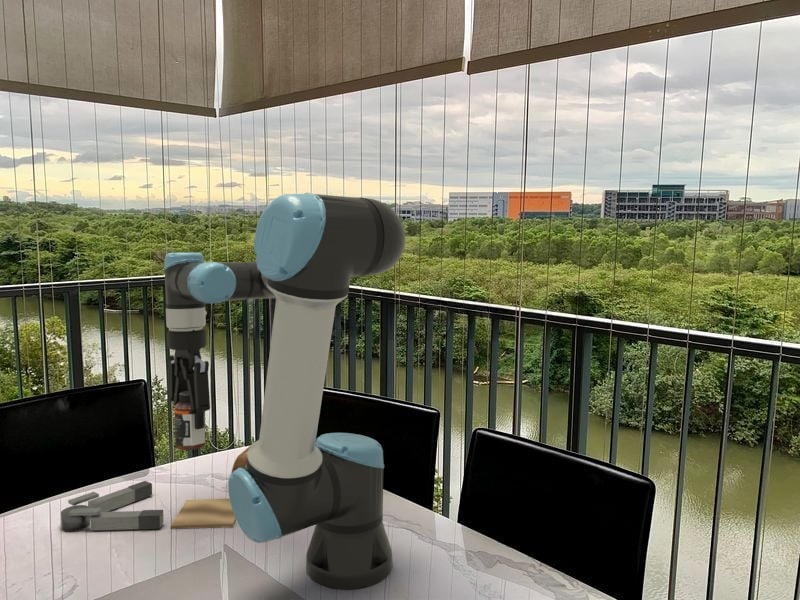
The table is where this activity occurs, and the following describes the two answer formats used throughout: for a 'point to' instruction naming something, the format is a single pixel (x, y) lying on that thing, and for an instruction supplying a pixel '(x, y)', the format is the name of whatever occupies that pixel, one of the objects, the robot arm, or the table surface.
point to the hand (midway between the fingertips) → (190, 440)
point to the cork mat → (205, 514)
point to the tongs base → (109, 519)
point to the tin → (240, 460)
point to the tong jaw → (115, 497)
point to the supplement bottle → (184, 423)
